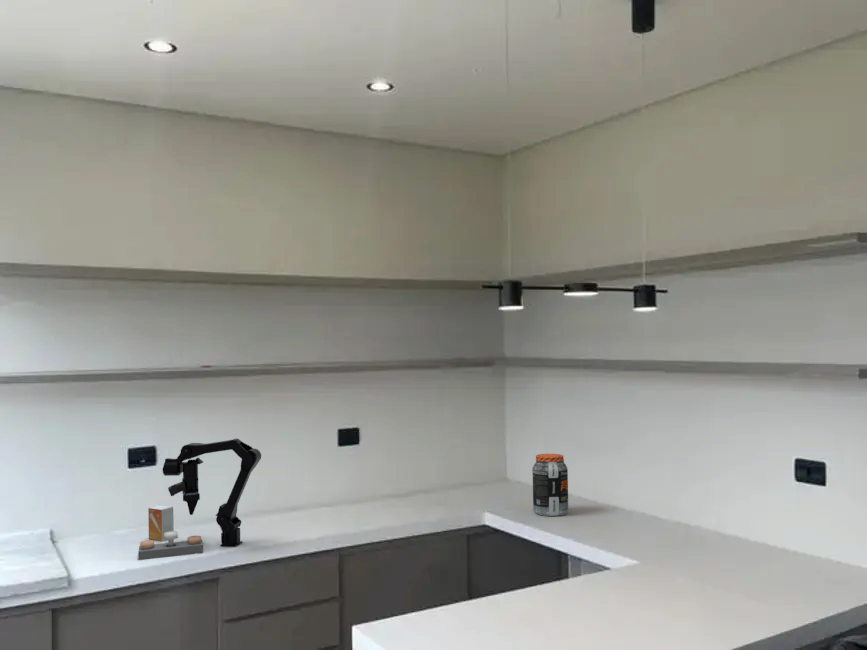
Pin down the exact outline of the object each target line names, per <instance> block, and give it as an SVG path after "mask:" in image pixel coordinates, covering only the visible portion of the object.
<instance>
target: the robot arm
mask: <svg viewBox="0 0 867 650" xmlns="http://www.w3.org/2000/svg"><path fill="white" fill-rule="evenodd" d="M224 451H233V452H234V453H235V454H236V455H237V457H239V458H240V459H241V461H240V470H239V473H238V476H237V478H236V480H235V482H234V484H233V487H232V490H231V492H230V494H229V496H228V499H227V501H226V502H224V503H223V504H221V505H219V507H218V511H217V513H216V514H215V517H216V520H215V521H216V524H217V525H218V526H219V528H220V530H221V535H220V539H221V540H220V541H221V542H220V547H237V546H239V545H241V544H242V543H243V540H241V524H242V522H243V521H242V520H241V519H240V518H239V517H238V516H237V513H238V506H239V502H240V500H241V497H242V495H243V492H244V490H245V487H246V486H247V483H248V481H249V478H250V476H251V474H252V472H253V471H254V469H255V468H256V467H257V465H258V464H259V462H260V461H261V459H262V453H261V451H260V450H259V449H257V448H253V446H251V445H249V444H247V443H245V442H243V441H242V440H241V439H239V438H233V439H229V440H221V441H215V442H214V441H213V442H210V443H202V442H191V443H188V444H185V445H183V446H182V447H181V448H180V453H179V455H178V456H177V457H176V458H171V457H170V458H169V457H168V458H167V457H166V458H165V459H164V463H163V467H162V474H163V476H166V477H167V476H170V477H171V476H172V477H173V476H175V477H177V476H181V474H182V479H181V481H179V482H177V483H174V484H173V485H172V484H171V485H170V486H169V487H167V489H168V492H169V495H170V496H171V497H174V496H175V495H177V494H179V493H181V492H182V501H183V502H186V504H187V507H188V513H189V516H192V515H193V514H194V513H195V509H196V507H197V505H198V502H199V500H201V498H200V497H201V495H200V491H199V489H200V488H199V465H201V464H204V461H203V460H202V459H201V458H200V457H199V456H202V455H205V454H210V453H211V454H212V453H216V452H224ZM194 458H195V459H194Z"/></svg>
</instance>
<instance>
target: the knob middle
mask: <svg viewBox="0 0 867 650" xmlns="http://www.w3.org/2000/svg"><path fill="white" fill-rule="evenodd" d="M178 534H179V532H178V531H176V530H174V531H169V532H165V533H164V539H165V541H168V542H167V543H168V547H170V546H174V542H175V540H176V539H178V538H179V535H178Z"/></svg>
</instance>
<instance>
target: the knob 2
mask: <svg viewBox="0 0 867 650" xmlns="http://www.w3.org/2000/svg"><path fill="white" fill-rule="evenodd" d="M201 539H202V536H201V535H190V536H188V537H187V540H186V541H188V544H197V543H200V542H201Z"/></svg>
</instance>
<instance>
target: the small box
mask: <svg viewBox="0 0 867 650" xmlns="http://www.w3.org/2000/svg"><path fill="white" fill-rule="evenodd" d="M147 511H148V540H153V541H158V542H164V541H166V540H165V539H164V533H165V532H169V531H175V528H174V526H175V525H174V506H169V505H163V504H162V505H161V504H159V505H154V506H150V507H148V510H147Z"/></svg>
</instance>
